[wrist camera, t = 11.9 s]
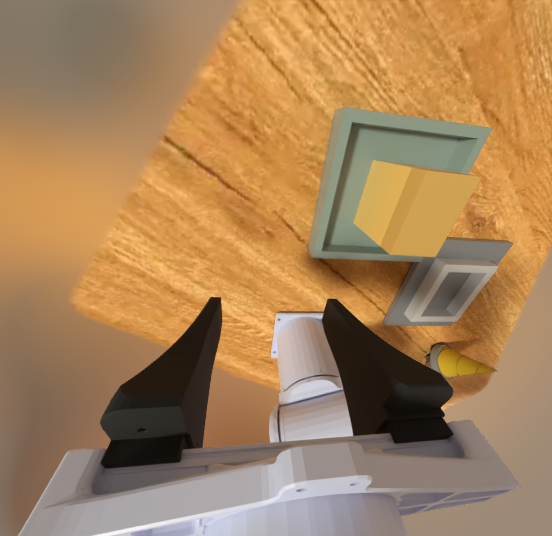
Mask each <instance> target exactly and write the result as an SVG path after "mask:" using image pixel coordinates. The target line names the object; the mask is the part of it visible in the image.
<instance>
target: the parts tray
mask: <svg viewBox="0 0 552 536" xmlns="http://www.w3.org/2000/svg"><path fill="white" fill-rule="evenodd" d="M492 129H493V128H489V127H482V126H475V125H468V124H461V123H453V122H446V121H439V120H432V119H425V118H418V117H410V116H403V115H396V114H389V113H382V112H374V111H367V110H360V109H353V108H346V107H345V108H341V109H338V110H335V113H334V118H333V123H332V128H331V133H330V138H329V144H328V149H327V154H326V159H325V164H324V169H323V174H322V179H321V184H320V189H319V194H318V199H317V205H316V210H315V215H314V220H313V225H312V230H311V235H310V240H309V245H308V250H309V252H310V254H311V256H312V258H328V259H353V260H378V261H403V262H421V261H422V259H423V258H424V256H405V255H390V254H388V253H387V252H386V251H385V250H384V249H383V248H382V247H380V246H379V245H378V244H377V243H376V242H375V241H373V240H372V239H371V238H370V237H369V236H368V235H366V234H365V233H364V232H363V231H362V230H361V229H360V228H358V227H357V226H356V225H355V224H354V219H355V216H356V213H357V210H358V207H359V203H360V200H361V197H362V194H363V191H364V188H365V184H366V181H367V178H368V175H369V172H370V168H371V165H372V162H373V160H378V161H386V162H395V163H403V164H411V165H417V166H423V167H429V168H434V169H440V170H446V171H451V172H457V173H463V174H468V173H469V172H470V170H471V168H472V166H473V164H474V162H475V160H476V159H477V157H478V155H479V153H480V151H481V149H482V147H483V145H484V144H485V142H486V140H487V138H488V136H489V134H490V132H491V130H492Z"/></svg>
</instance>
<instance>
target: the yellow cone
mask: <svg viewBox="0 0 552 536" xmlns="http://www.w3.org/2000/svg"><path fill="white" fill-rule="evenodd" d="M424 358H425V359H426V364H425V365H426V366H431V367H432V369H433V370H435V371H437V372H439V373H441V375H442V376H443V377H444V378H445V379H452V378H453V377H454V376H462V375H471V374H476V373H477V374H480V373H488V372H494V371H497V370H495V369H493V368H491V367H489V366H487V365H484V364H482V363H480V362H478V361H475V360H473V359H471V358H469V357H467V356H464V355H462V354H460V353H458V352H456V351H453V350H452V349H451V348H450V347H449V346H447V345H442V344H436V345H435V346H434V347H433V348H432V350H431V354H430V355H429V356H426V357H424Z"/></svg>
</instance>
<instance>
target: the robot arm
mask: <svg viewBox="0 0 552 536" xmlns="http://www.w3.org/2000/svg"><path fill="white" fill-rule="evenodd" d="M279 318H280V319H279ZM221 326H222V307H221V297H211V298H210V299H209V300H208V302H207V304H206V305H205V307H204V308H203V310H202V311H201V313H200V314H199V315H198V317H197V318H196V319H195V321H194V322H193V323H192V325H191V326H190V327H189V328H188V329H187V330H186V332H185V333H184V334H183V335H182V336H181V337H180V338H179V339H178V340H177V341H176V342H175V343H174V344H173V345H172V346H171V347H170V348H169V349H168V350H167V351H166V352H165V353H164V354H163V355H161V356H160V357H159V358H158V359H157V360H155V361H154V362H153V363H151V364H150V365H149V366H148V367H147V368H145V369H144V370H143V371H141V372H140V373H138V374H137V375H136V376H134V377H133V378H132V379H130V380H128V381H127V382H126V383H124V384H122V385H121V386H120V387H119V389H118V390H117V392H116V393H115V395H114V396H113V398H112V399H111V401H110V403H109V405H108V407H107V409H106V410H105V412H104V414H103V416H102V418H101V421H100V424H101V426H102V429H103V430H104V431H105V432H106V433H107V435H108V436H109V437H110V439H111V442H110V444H109V446H108V448H107V450H106V449H104V448H87V449H73V450H69V451H68V452H67V453H66V455H65V456H64V458H63V460H62V462H61V463H60V465H59V467H58V468H57V470H56V472H55V473H54V475H53V477H52V479H51V480H50V482H49V484H48V486H47V487H46V489H45V491H44V492H43V494H42V496H41V498H40V499H39V501H38V503H37V504H36V506H35V508H34V509H33V511H32V513H31V515H30V516H29V518H28V520H27V521H26V523H25V525H24V527H23V528H22V530H21V532H20V533H19V535H18V536H408V533H407V531H406V529H405V526H404V523H403V521H402V518H401V516H405V515H410V514H416V513H421V512H426V511H431V510H437V509H442V508H448V507H453V506H459V505H465V504H472V503H479V502H485V501H488V500H490V499H493V498H495V497H498V496H500V495H503V494H505V493H508V492H510V491H513V490H515V489H518V488H520V487H521V484H520V483H519V482H518V480H517V479H516V478H515V476H514V475H513V474H512V472H511V471H510V470H509V469H508V467H507V466H506V465H505V463H504V462H503V461H502V459H501V458H500V457H499V455H498V454H497V453H496V452H495V450H494V449H493V448H492V446H491V445H490V444H489V443H488V441H487V440H486V439H485V437H484V436H483V435H482V433H481V432H480V431H479V429H478V428H477V427H476V426H475V424H474V423H473V422H472V421H471V420H465V421H453V422H449V423H446V422H445V421H444V419H443V418H442V417H444V416H445V414H444V412H443V411H442V410H441V407H442V406H443V405H444V404H445V403H446V402H447V401H448V400H449V399H450V398H451V397H452V395H453V388H452V387H451V386H450V385H449V383H448V382H447V381H446V380H445V378H444V377H443V376H442V375H441V373H439V372H437V371H435V370H433V369H431V368H429V367H427V366H425V365H423V364H421V363H419V362H417V361H416V360H414V359H412V358H410V357H408V356H407V355H405V354H403V353H402V352H400V351H398V350H397V349H395V348H394V347H392V346H391V345H389V344H388V343H386V342H385V341H384V340H382V339H381V338H380V337H378V336H377V335H376V334H374V333H373V332H372V331H371V330H369V329H368V328H367V327H366V326H365V325H363V324H362V323H361V322H360V321H359V320H358V319H357V318H356V317H355V316H354V315H353V314H352V313H351V312H349V311H348V310H347V309H346V308H345V307H344V306H343V305H342V304H341V303H340V302H339V301H338V300H337V299H328V300H327V303H326V307H325V310H324V313H277V314H276V318H275V326H274V334H273V341H272V349H271V357H272V358H277V359H278V368H279V378H280V387H281V393H279V400H280V404H277V405H275V406H274V408H273V411H272V413H271V415H270V420H269V435H270V443H260V444H246V445H233V446H221V447H208V448H202V446H203V437H204V427H205V419H206V411H207V403H208V396H209V388H210V381H211V374H212V369H213V364H214V360H215V356H216V352H217V347H218V343H219V339H220V334H221Z"/></svg>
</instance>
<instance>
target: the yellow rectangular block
mask: <svg viewBox="0 0 552 536" xmlns="http://www.w3.org/2000/svg"><path fill="white" fill-rule="evenodd" d="M481 178H482V177H480V176H474V175H468V174H463V173H457V172H451V171H446V170H440V169H434V168H429V167H423V166H417V165H411V164H403V163H395V162H386V161H378V160H373V162H372V165H371V168H370V172H369V175H368V178H367V181H366V184H365V188H364V191H363V194H362V197H361V200H360V203H359V207H358V210H357V213H356V216H355V219H354V224H355V225H356V226H357V227H358V228H360V229H361V230H362V231H363V232H364V233H365V234H366V235H368V236H369V237H370V238H371V239H372V240H373V241H375V242H376V243H377V244H378V245H379V246H380V247H382V248H383V249H384V250H385V251H386V252H387V253H388V254H390V255H405V256H424V257H436V255H437V254H438V252H439V250H440V248H441V247H442V245H443V243H444V242H445V240H446V238H447V236H448V235H449V233H450V231H451V229H452V228H453V226H454V224H455V223H456V221H457V219H458V217H459V216H460V214H461V212H462V210H463V209H464V207H465V205H466V204H467V202H468V200H469V198H470V197H471V195H472V193H473V191H474V190H475V188H476V186H477V185H478V183H479V181H480V179H481Z"/></svg>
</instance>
